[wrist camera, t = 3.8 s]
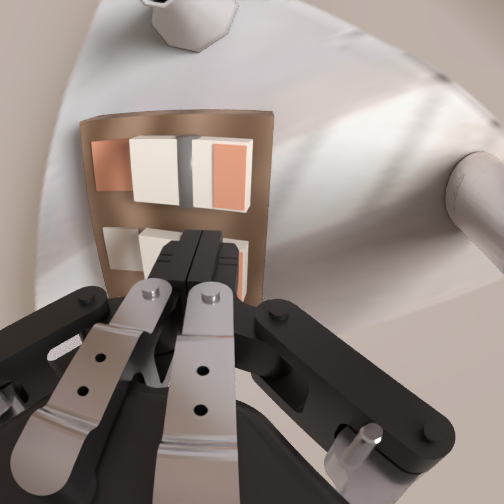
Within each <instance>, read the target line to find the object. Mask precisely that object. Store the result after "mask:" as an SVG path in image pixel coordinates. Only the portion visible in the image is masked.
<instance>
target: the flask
mask: <svg viewBox="0 0 504 504" xmlns="http://www.w3.org/2000/svg"><path fill="white" fill-rule="evenodd" d="M140 1H141V2H142V3H143V4H144V5H145V6H148V7H153V15H152V20H151V24H152V25H153V27H154V28H155V29H156V30H157V31H158V33H159V34H160V35H161V36H162V38H163V39H164V40H165V41H166V43H167V44H168V45H169V46H173V47H178V48H183V49H187V50H191V51H195V52H199V53H200V52H201V51H203V50H204V49H206V48H207V47H209V46H210V45H212V44H213V43H215V42H216V41H218V40H219V39H221V38H222V37H224V36H225V35H227V34H228V32H229V29H230V27H231V24H232V22H233V19H234V17H235V14H236V12H237V9H238V7H239V5H238V4H237V3H236V1H235V0H140Z"/></svg>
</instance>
